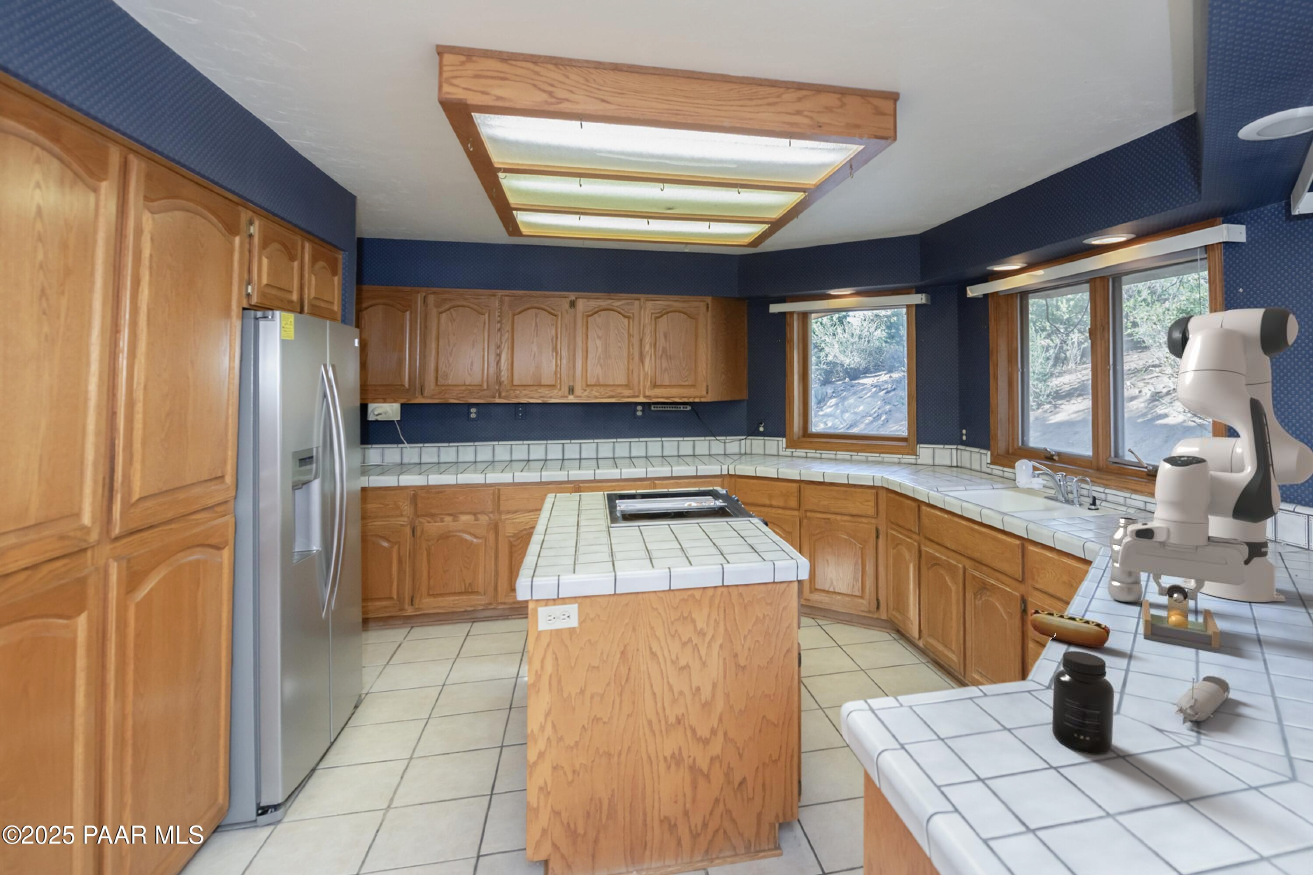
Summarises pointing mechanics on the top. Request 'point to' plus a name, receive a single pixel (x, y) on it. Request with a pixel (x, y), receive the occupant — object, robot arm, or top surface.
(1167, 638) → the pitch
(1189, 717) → the torpedo
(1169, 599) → the glass stem black base
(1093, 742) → the supplement bottle
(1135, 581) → the plastic bottle
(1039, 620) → the hot dog
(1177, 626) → the ball
